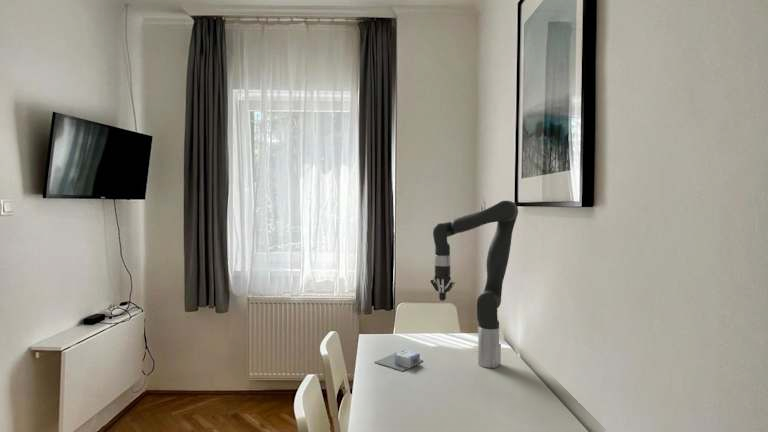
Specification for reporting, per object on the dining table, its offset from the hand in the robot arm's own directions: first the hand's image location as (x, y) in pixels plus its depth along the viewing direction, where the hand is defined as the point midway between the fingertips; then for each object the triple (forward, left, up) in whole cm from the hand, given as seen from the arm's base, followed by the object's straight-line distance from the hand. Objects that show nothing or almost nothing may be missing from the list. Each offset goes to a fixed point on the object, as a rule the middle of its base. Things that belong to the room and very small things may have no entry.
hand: (442, 300), depth 198 cm
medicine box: (+2, +20, -24) cm, 31 cm away
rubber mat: (+11, +20, -27) cm, 35 cm away
